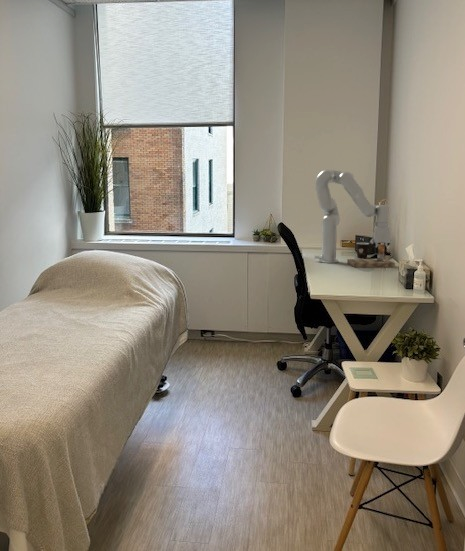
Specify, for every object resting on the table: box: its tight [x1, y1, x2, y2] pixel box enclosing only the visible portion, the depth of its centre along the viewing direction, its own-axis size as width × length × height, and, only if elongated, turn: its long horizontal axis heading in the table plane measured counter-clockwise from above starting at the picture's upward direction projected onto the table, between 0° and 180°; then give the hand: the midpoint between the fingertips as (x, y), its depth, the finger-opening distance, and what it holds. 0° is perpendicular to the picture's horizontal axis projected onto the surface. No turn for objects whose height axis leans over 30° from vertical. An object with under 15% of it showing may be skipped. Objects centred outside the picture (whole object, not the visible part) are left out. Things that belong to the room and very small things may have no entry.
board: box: [346, 258, 396, 268], centre depth 344 cm, size 26×16×3 cm, turn 93°
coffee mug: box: [355, 242, 375, 259], centre depth 371 cm, size 12×9×10 cm
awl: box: [376, 244, 385, 262], centre depth 343 cm, size 5×5×11 cm
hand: (380, 252), depth 343 cm, fingers closed on awl, 4 cm apart
